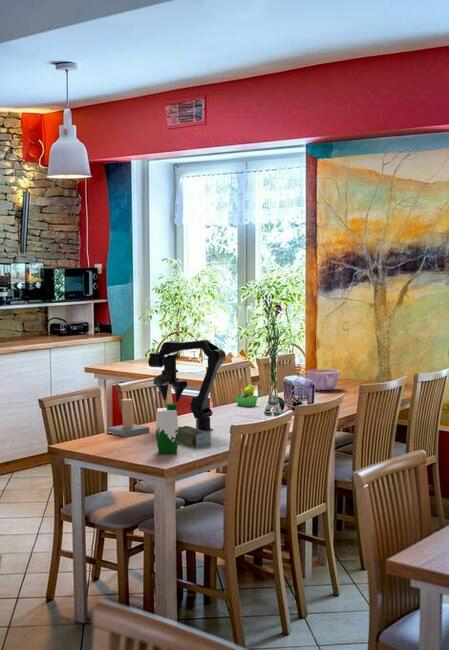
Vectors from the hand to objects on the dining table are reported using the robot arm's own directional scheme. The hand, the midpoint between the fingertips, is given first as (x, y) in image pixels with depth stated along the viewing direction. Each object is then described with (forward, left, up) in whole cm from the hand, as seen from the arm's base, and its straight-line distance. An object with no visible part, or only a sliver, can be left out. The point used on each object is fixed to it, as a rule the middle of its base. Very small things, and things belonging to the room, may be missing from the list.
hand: (170, 400), depth 418 cm
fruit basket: (+20, -70, -13) cm, 74 cm away
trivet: (+6, +21, -13) cm, 25 cm away
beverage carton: (-35, +17, -14) cm, 41 cm away
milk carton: (-41, +36, -13) cm, 56 cm away
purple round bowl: (+25, -139, -13) cm, 142 cm away
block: (+6, +21, -10) cm, 24 cm away
